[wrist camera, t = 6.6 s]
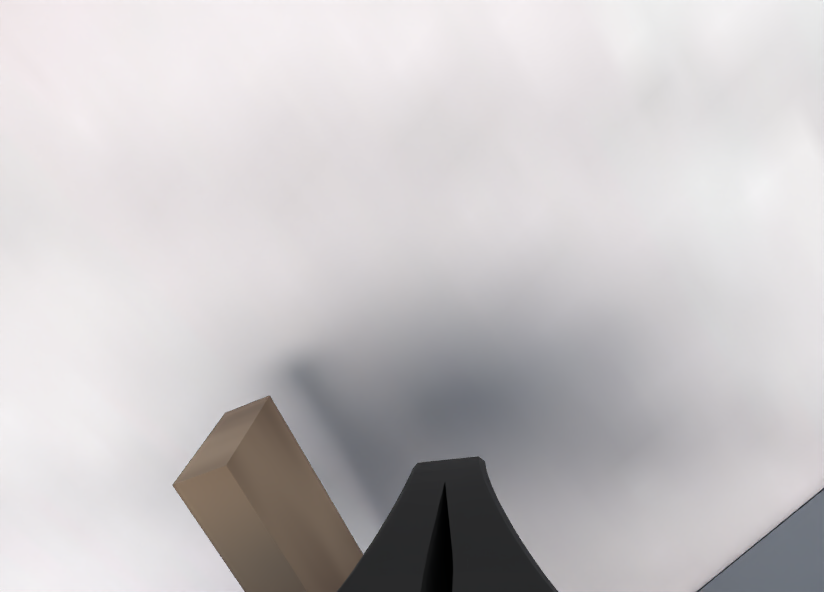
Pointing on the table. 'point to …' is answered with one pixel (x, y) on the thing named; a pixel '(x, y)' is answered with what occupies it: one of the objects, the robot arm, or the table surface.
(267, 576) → the flipper lever
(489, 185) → the table surface
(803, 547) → the tray
